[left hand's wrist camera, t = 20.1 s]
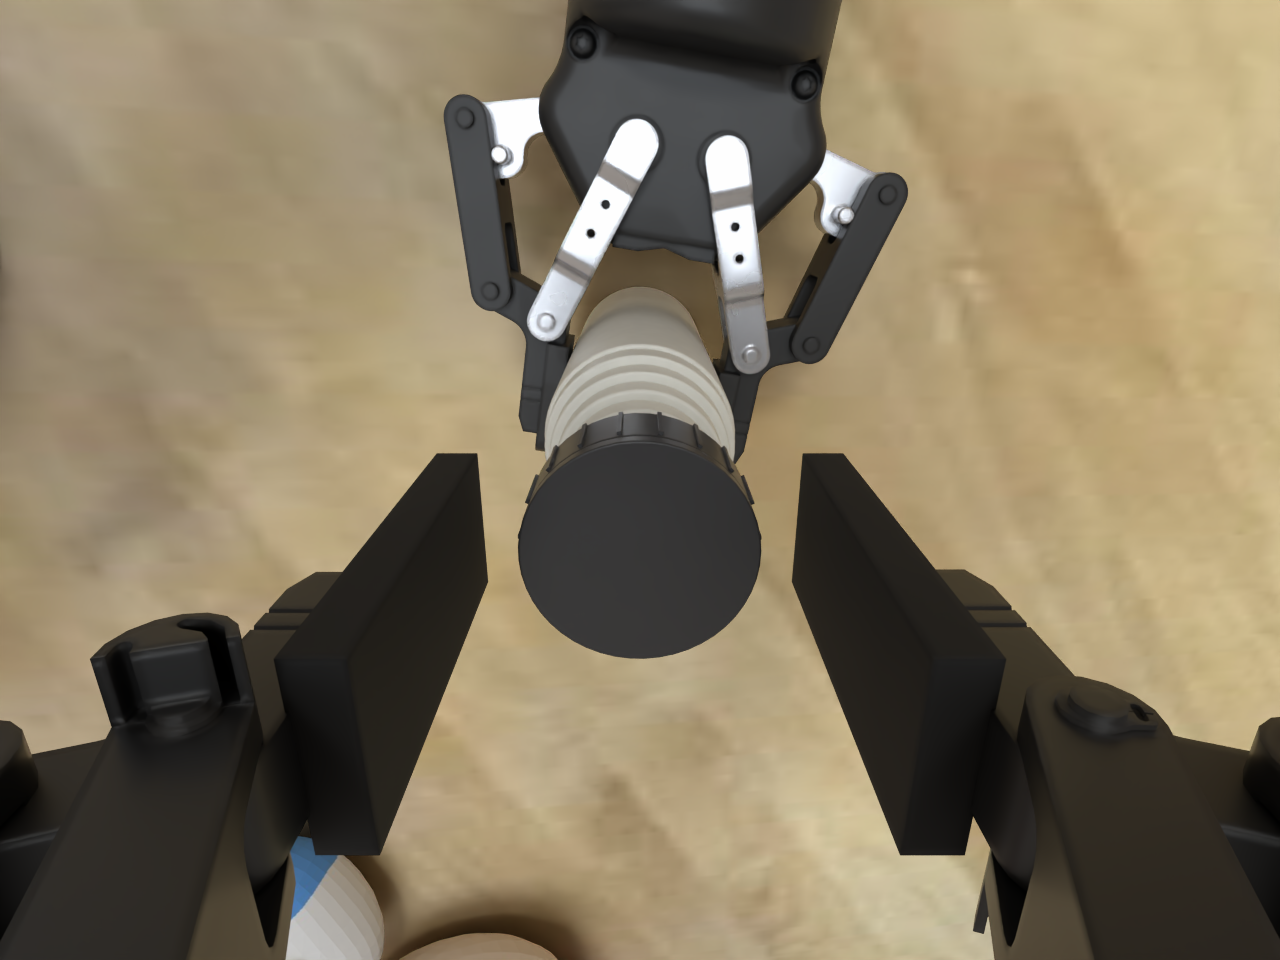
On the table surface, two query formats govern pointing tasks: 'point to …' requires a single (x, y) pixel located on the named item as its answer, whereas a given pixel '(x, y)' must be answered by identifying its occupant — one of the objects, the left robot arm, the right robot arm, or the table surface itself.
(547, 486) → the cap
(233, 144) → the table surface
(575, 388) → the bottle
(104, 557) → the table surface
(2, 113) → the table surface
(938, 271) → the table surface
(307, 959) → the toy
